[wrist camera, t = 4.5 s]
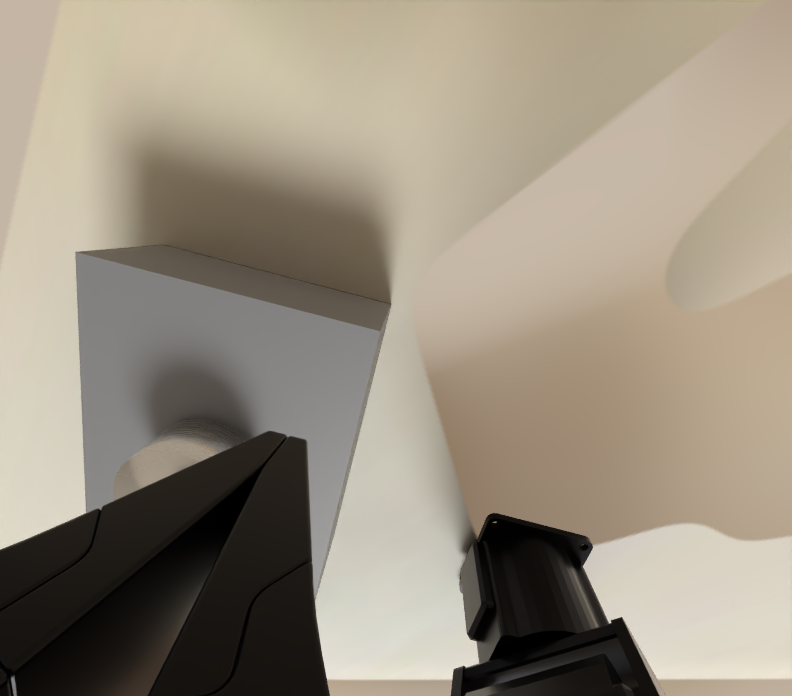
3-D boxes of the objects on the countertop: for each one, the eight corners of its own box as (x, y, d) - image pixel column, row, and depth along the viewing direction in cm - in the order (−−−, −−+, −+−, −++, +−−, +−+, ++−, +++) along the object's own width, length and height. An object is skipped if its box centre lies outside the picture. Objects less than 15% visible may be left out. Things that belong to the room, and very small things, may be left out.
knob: (304, 384, 21) (241, 469, 14) (291, 455, 22) (228, 565, 15) (220, 363, 21) (112, 437, 13) (213, 435, 22) (113, 535, 15)
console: (391, 304, 19) (380, 331, 14) (333, 538, 24) (311, 614, 19) (163, 244, 19) (75, 252, 14) (154, 492, 24) (87, 557, 19)
